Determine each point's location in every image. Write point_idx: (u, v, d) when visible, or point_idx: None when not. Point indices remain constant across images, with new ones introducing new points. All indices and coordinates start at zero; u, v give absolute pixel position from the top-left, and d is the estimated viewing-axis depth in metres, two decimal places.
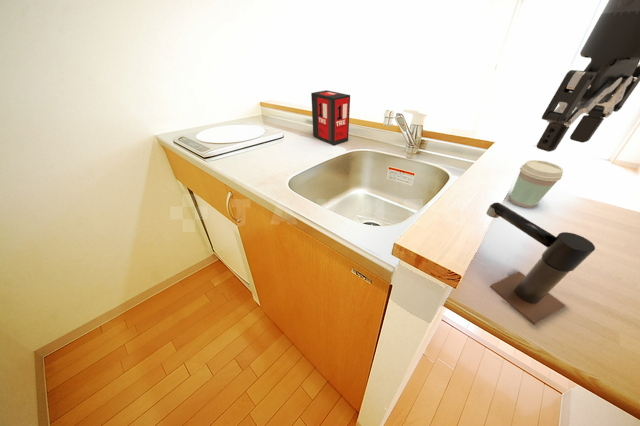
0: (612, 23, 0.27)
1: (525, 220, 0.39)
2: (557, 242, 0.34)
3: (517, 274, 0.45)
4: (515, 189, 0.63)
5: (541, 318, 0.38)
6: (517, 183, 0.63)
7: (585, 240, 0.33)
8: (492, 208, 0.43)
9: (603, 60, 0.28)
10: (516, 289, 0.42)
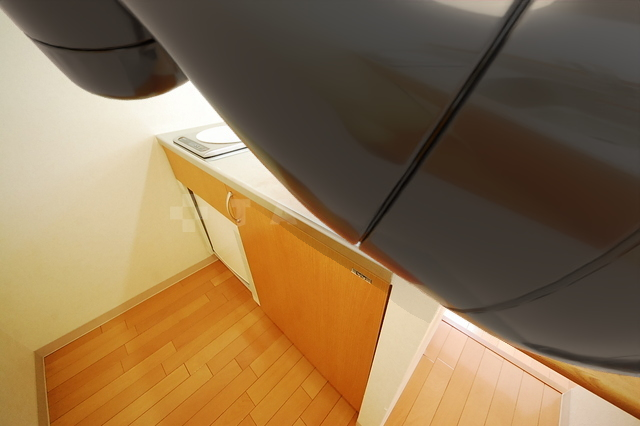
0: None
1: None
2: None
3: None
4: None
5: None
6: None
7: None
8: None
9: None
10: None
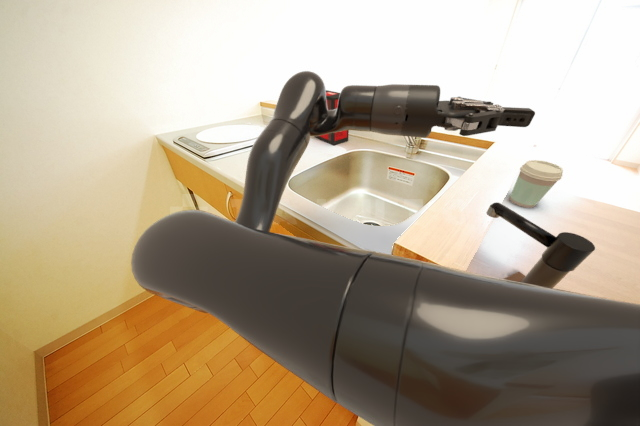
0: None
1: (525, 220, 0.39)
2: (557, 242, 0.34)
3: (517, 274, 0.45)
4: (515, 189, 0.63)
5: None
6: (517, 183, 0.62)
7: (585, 240, 0.33)
8: (492, 208, 0.43)
9: None
10: None
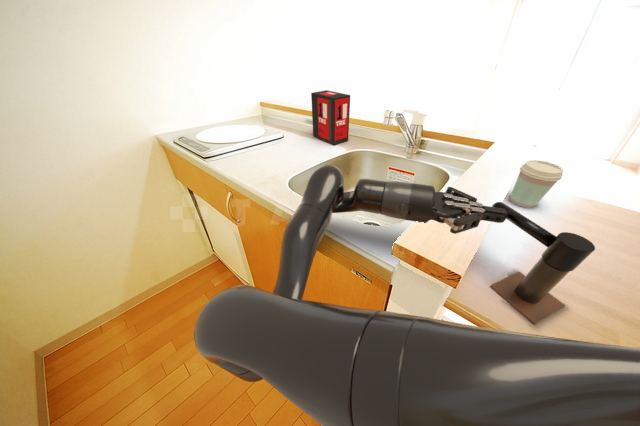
0: None
1: (527, 220, 0.39)
2: (557, 242, 0.34)
3: (517, 274, 0.45)
4: (515, 189, 0.63)
5: (541, 318, 0.38)
6: (517, 183, 0.62)
7: (585, 240, 0.33)
8: None
9: None
10: (516, 289, 0.42)
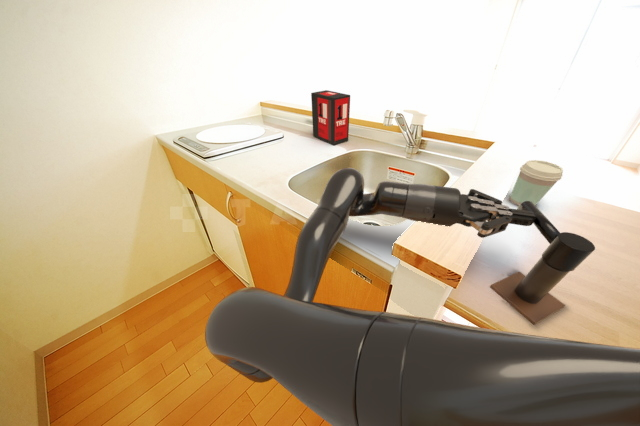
0: None
1: (544, 219, 0.39)
2: (555, 238, 0.35)
3: (517, 274, 0.45)
4: (515, 189, 0.63)
5: (541, 318, 0.38)
6: (517, 183, 0.62)
7: (588, 244, 0.33)
8: (521, 205, 0.44)
9: None
10: (516, 289, 0.42)
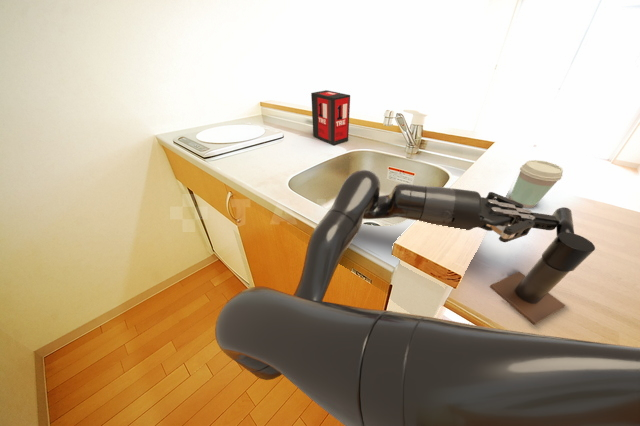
0: None
1: (567, 223, 0.38)
2: None
3: (517, 274, 0.45)
4: (515, 189, 0.63)
5: (541, 318, 0.38)
6: (517, 183, 0.62)
7: (589, 246, 0.32)
8: (556, 210, 0.42)
9: None
10: (516, 289, 0.42)
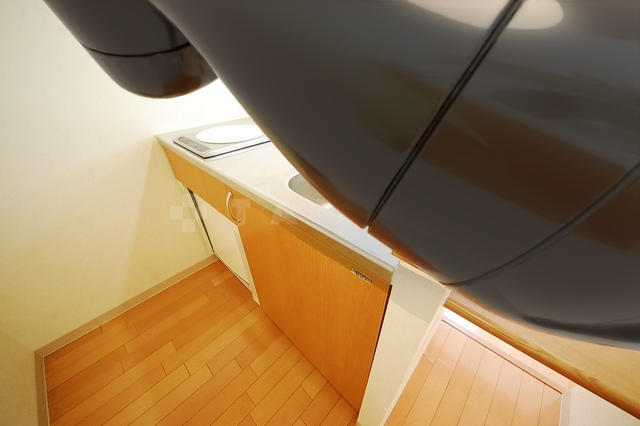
0: None
1: None
2: None
3: None
4: None
5: None
6: None
7: None
8: None
9: None
10: None
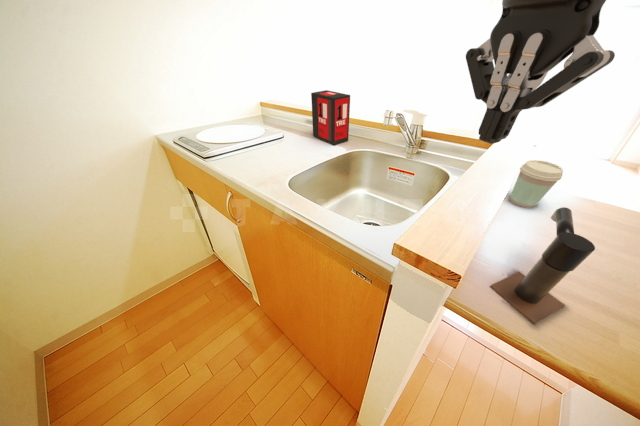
0: None
1: (567, 223, 0.38)
2: None
3: (517, 274, 0.45)
4: (515, 189, 0.63)
5: (541, 318, 0.38)
6: (517, 183, 0.62)
7: (589, 246, 0.32)
8: (556, 210, 0.42)
9: None
10: (516, 289, 0.42)
